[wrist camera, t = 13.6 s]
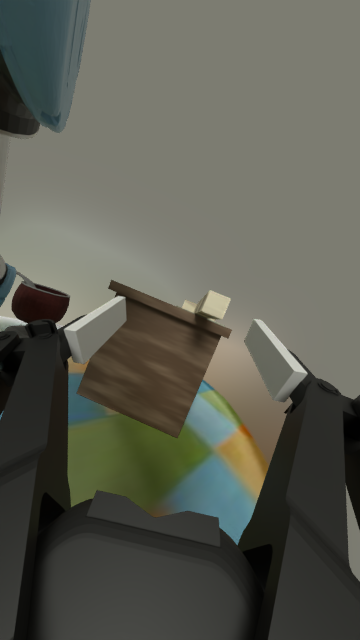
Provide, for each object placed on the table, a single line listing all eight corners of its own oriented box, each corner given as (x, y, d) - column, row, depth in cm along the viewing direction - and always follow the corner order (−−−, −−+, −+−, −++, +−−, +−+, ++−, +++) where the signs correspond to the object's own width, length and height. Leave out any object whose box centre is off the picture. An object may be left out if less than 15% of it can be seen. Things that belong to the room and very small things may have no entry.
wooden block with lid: (104, 370, 46) (136, 291, 45) (182, 404, 46) (216, 324, 45) (65, 396, 31) (112, 278, 30) (180, 447, 31) (232, 328, 30)
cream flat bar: (181, 310, 44) (185, 301, 44) (211, 322, 44) (215, 313, 44) (177, 301, 19) (185, 280, 19) (246, 329, 19) (255, 308, 19)
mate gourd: (47, 328, 59) (64, 283, 59) (63, 342, 54) (82, 293, 53) (-13, 324, 45) (8, 266, 45) (-1, 342, 40) (23, 276, 39)
